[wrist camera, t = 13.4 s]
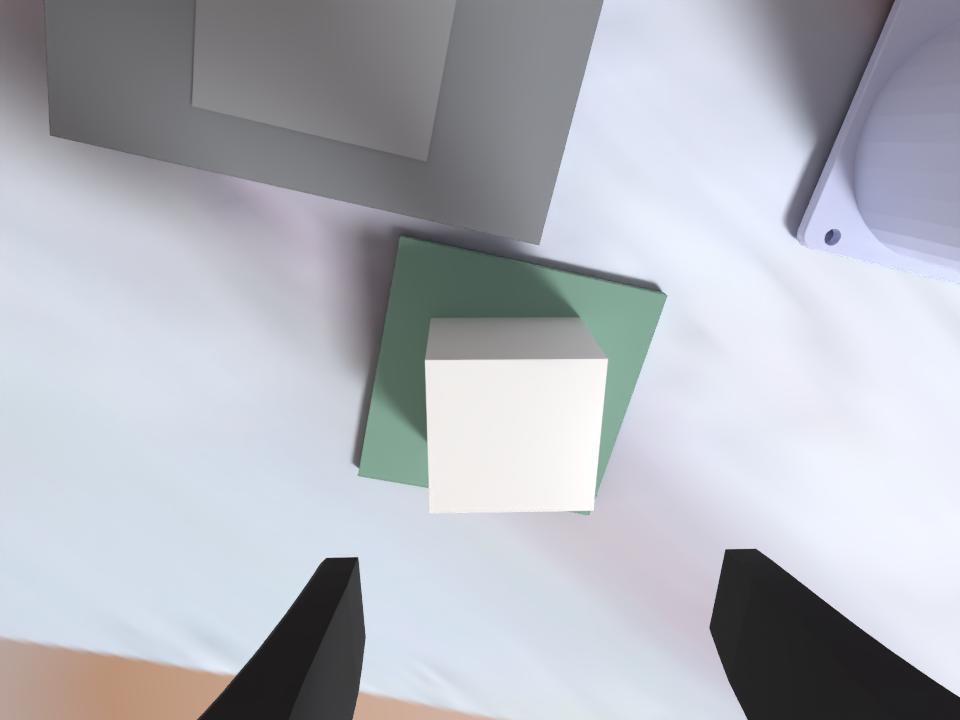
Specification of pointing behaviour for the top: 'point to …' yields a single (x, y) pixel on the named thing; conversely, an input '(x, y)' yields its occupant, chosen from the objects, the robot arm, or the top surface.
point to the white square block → (513, 414)
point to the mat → (490, 294)
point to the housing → (335, 96)
